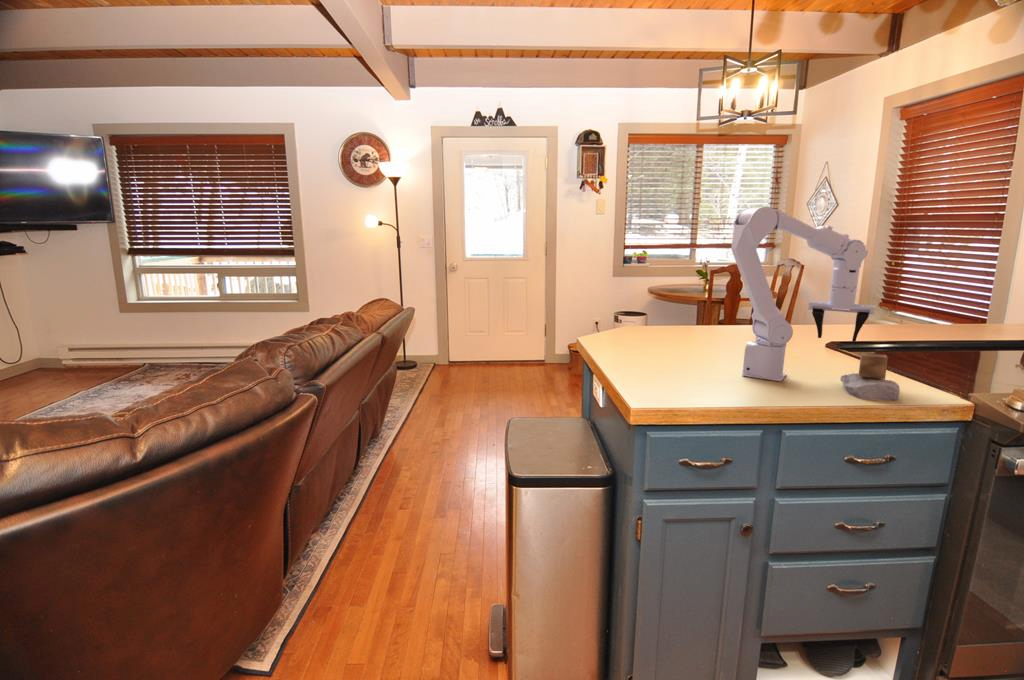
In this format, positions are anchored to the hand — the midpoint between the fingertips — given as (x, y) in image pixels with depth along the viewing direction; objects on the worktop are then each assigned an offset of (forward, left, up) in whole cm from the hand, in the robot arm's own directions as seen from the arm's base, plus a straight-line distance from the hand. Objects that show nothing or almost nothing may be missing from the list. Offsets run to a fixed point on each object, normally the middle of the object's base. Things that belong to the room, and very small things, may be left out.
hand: (836, 339), depth 137 cm
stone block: (+8, -11, -10) cm, 17 cm away
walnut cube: (+8, -10, -6) cm, 15 cm away
